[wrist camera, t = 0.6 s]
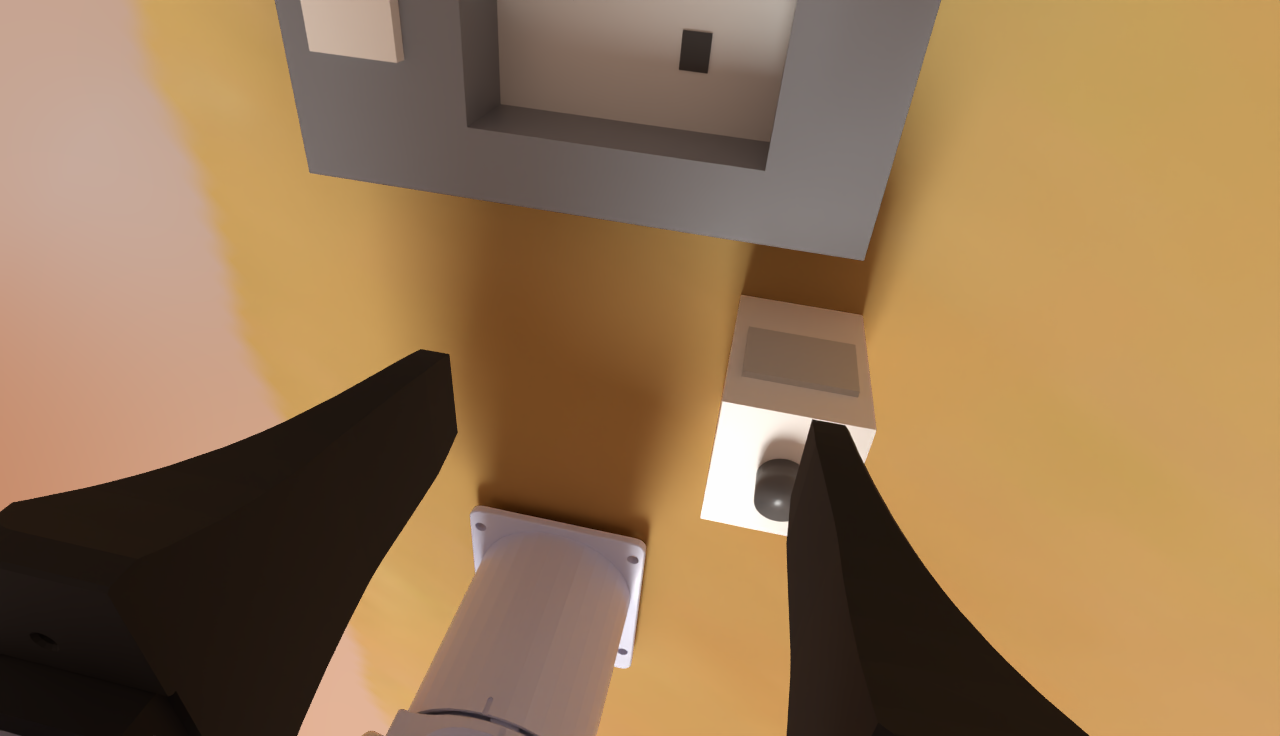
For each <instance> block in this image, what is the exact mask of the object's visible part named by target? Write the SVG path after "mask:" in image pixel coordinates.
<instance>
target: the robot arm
mask: <svg viewBox="0 0 1280 736" xmlns="http://www.w3.org/2000/svg"><path fill="white" fill-rule="evenodd" d="M457 433H458V432H457V423H456V413H455V404H454V394H453V385H452V375H451V366H450V356H449V354H445V353H439V352H434V351H428V350H422V349H420V350H418V351H416V352H414V353H412V354H410V355H408V356H406V357H405V358H403V359H401V360H399V361H397V362H396V363H394V364H392V365H390V366H388V367H387V368H385V369H383V370H381V371H380V372H378V373H376V374H374V375H373V376H371V377H369V378H367V379H365V380H364V381H362V382H360V383H358V384H356V385H355V386H353V387H351V388H349V389H347V390H346V391H344V392H342V393H340V394H338V395H337V396H335V397H333V398H331V399H329V400H327V401H325V402H323V403H321V404H319V405H317V406H315V407H313V408H311V409H309V410H307V411H305V412H303V413H301V414H299V415H297V416H295V417H293V418H291V419H289V420H287V421H285V422H283V423H281V424H279V425H276V426H274V427H272V428H270V429H267V430H265V431H263V432H261V433H258V434H256V435H253V436H251V437H248V438H246V439H243V440H241V441H238V442H236V443H233V444H231V445H228V446H226V447H223V448H220V449H217V450H214V451H211V452H208V453H206V454H202V455H199V456H197V457H194V458H191V459H188V460H185V461H182V462H179V463H176V464H173V465H170V466H167V467H163V468H160V469H156V470H153V471H149V472H146V473H142V474H139V475H135V476H131V477H128V478H124V479H120V480H117V481H112V482H109V483H104V484H100V485H96V486H92V487H87V488H83V489H78V490H73V491H68V492H64V493H58V494H53V495H49V496H44V497H39V498H34V499H29V500H24V501H18V502H13V503H11V504H10V505H9V506H7V507H6V508H5V509H3V510H2V511H1V512H0V736H297V735H298V732H299V730H300V727H301V725H302V722H303V720H304V718H305V715H306V713H307V711H308V709H309V707H310V704H311V702H312V700H313V698H314V695H315V693H316V690H317V688H318V686H319V684H320V682H321V680H322V677H323V675H324V673H325V671H326V668H327V666H328V664H329V662H330V660H331V658H332V656H333V654H334V651H335V650H336V647H337V645H338V643H339V641H340V639H341V637H342V635H343V633H344V631H345V629H346V627H347V625H348V622H349V621H350V619H351V617H352V615H353V613H354V611H355V609H356V607H357V605H358V603H359V601H360V599H361V597H362V595H363V593H364V591H365V589H366V587H367V585H368V584H369V582H370V580H371V578H372V576H373V575H374V573H375V571H376V570H377V568H378V566H379V565H380V563H381V561H382V560H383V558H384V557H385V555H386V554H387V552H388V551H389V549H390V548H391V546H392V545H393V543H394V542H395V540H396V538H397V537H398V535H399V534H400V532H401V531H402V529H403V528H404V526H405V525H406V523H407V522H408V520H409V519H410V517H411V516H412V514H413V513H414V511H415V510H416V508H417V507H418V505H419V503H420V502H421V500H422V499H423V497H424V496H425V494H426V493H427V491H428V490H429V488H430V486H431V485H432V483H433V482H434V480H435V478H436V477H437V475H438V474H439V472H440V469H441V467H442V465H443V463H444V461H445V459H446V457H447V455H448V453H449V451H450V448H451V446H452V444H453V442H454V439H455V437H456V435H457ZM470 522H471V533H472V544H473V555H474V566H475V576H474V578H473V580H472V582H471V584H470V586H469V588H468V590H467V592H466V594H465V596H464V598H463V600H462V602H461V604H460V606H459V608H458V610H457V612H456V614H455V616H454V618H453V620H452V622H451V624H450V627H449V629H448V631H447V633H446V635H445V637H444V639H443V641H442V643H441V645H440V647H439V649H438V651H437V653H436V655H435V657H434V659H433V661H432V663H431V665H430V667H429V669H428V671H427V673H426V675H425V677H424V680H423V682H422V684H421V686H420V688H419V690H418V692H417V694H416V696H415V698H414V700H413V702H412V704H411V706H410V708H409V710H408V711H407V710H404V709H400V710H399V711H398V713H397V715H396V717H395V719H394V720H393V722H392V724H391V726H390V728H389V730H388V732H387V734H386V736H596V735H597V731H598V727H599V723H600V719H601V715H602V711H603V707H604V703H605V699H606V696H607V692H608V688H609V684H610V680H611V676H612V672H613V668H614V667H618V668H628V667H630V665H631V662H632V657H633V649H634V642H635V634H636V626H637V618H638V610H639V603H640V595H641V587H642V579H643V571H644V564H645V556H646V545H645V543H644V542H643V541H641V540H639V539H637V538H632V537H627V536H623V535H618V534H613V533H609V532H604V531H599V530H595V529H590V528H585V527H580V526H576V525H571V524H566V523H562V522H557V521H552V520H548V519H543V518H538V517H534V516H529V515H524V514H519V513H515V512H510V511H505V510H501V509H496V508H491V507H487V506H480V505H479V506H475V507H474V508H473V510H472V512H471V513H470ZM634 556H635V557H634ZM787 573H788V599H789V624H790V649H791V670H790V691H789V707H788V723H787V736H1089V735H1088V734H1087V733H1086V732H1084V731H1083V730H1082V729H1081V728H1080V727H1079V726H1077V725H1076V724H1075V723H1074V722H1073V721H1072V720H1070V719H1069V718H1068V717H1067V716H1066V715H1065V714H1063V713H1062V712H1061V711H1060V710H1059V709H1058V708H1056V707H1055V706H1054V705H1053V704H1052V703H1051V702H1049V701H1048V700H1047V699H1046V698H1045V697H1044V696H1043V695H1041V694H1040V693H1039V692H1038V691H1037V690H1036V689H1035V688H1034V687H1033V686H1032V685H1031V684H1030V683H1029V682H1028V681H1027V680H1026V679H1025V678H1024V677H1023V676H1021V675H1020V674H1019V673H1018V672H1017V671H1016V670H1015V669H1014V668H1013V667H1012V666H1011V665H1010V664H1009V663H1008V662H1007V661H1006V660H1005V659H1004V658H1003V657H1002V656H1001V655H1000V654H999V653H998V652H997V651H996V650H995V649H994V648H993V647H992V646H991V645H990V644H989V642H988V641H987V640H986V639H985V638H984V637H983V636H982V635H981V634H980V633H979V631H978V630H977V629H976V628H975V627H974V626H973V625H972V624H971V623H970V622H969V620H968V619H967V618H966V617H965V616H964V615H963V614H962V613H961V612H960V610H959V609H958V608H957V607H956V606H955V605H954V603H953V602H952V601H951V600H950V598H949V597H948V596H947V595H946V594H945V592H944V591H943V590H942V588H941V587H940V586H939V584H938V583H937V582H936V580H935V579H934V578H933V577H932V575H931V574H930V573H929V571H928V570H927V568H926V567H925V566H924V564H923V563H922V561H921V560H920V558H919V557H918V556H917V554H916V553H915V551H914V550H913V548H912V547H911V545H910V544H909V542H908V540H907V539H906V537H905V536H904V534H903V533H902V531H901V530H900V528H899V526H898V525H897V523H896V521H895V520H894V518H893V516H892V515H891V513H890V511H889V509H888V508H887V506H886V504H885V502H884V500H883V499H882V497H881V495H880V493H879V492H878V490H877V488H876V486H875V484H874V482H873V480H872V478H871V476H870V474H869V472H868V470H867V468H866V466H865V464H864V462H863V460H862V458H861V456H860V454H859V452H858V450H857V447H856V445H855V443H854V441H853V438H852V436H851V434H850V431H849V430H848V428H847V427H846V426H845V425H842V424H836V423H830V422H825V421H819V420H814V419H812V421H811V425H810V429H809V432H808V436H807V439H806V443H805V447H804V450H803V454H802V457H801V461H800V465H799V468H798V472H797V475H796V479H795V483H794V486H793V490H792V493H791V497H790V509H789V520H788V532H787ZM362 736H383V735H381V734H379V733H377V732H375V731H368V732H366V733H365V734H363V735H362Z"/></svg>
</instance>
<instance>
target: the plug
mask: <svg viewBox="0 0 1280 736" xmlns="http://www.w3.org/2000/svg"><path fill="white" fill-rule="evenodd" d="M812 419H814V420H819V421H825V422H830V423H836V424H842V425H845V426H846V427H847V428H848V430H849V431H850V434H851V436H852V438H853V441H854V443H855V445H856V447H857V450H858V452H859V454H860V456H861V458H862V460H863V462H864V463H865V460H866V458H867V455H868V452H869V449H870V447H871V444H872V441H873V438H874V436H875V433H876V422H875V414H874V405H873V397H872V389H871V380H870V372H869V364H868V356H867V347H866V339H865V331H864V322H863V315H859V314H853V313H847V312H841V311H835V310H829V309H823V308H818V307H812V306H806V305H800V304H794V303H788V302H782V301H776V300H770V299H764V298H758V297H752V296H746V295H741V297H740V303H739V308H738V313H737V319H736V324H735V329H734V335H733V340H732V345H731V351H730V356H729V361H728V367H727V372H726V377H725V383H724V388H723V393H722V399H721V404H720V410H719V415H718V421H717V427H716V432H715V438H714V444H713V449H712V455H711V461H710V466H709V472H708V478H707V483H706V489H705V495H704V500H703V506H702V512H701V517H700V518H702V519H707V520H712V521H716V522H721V523H726V524H731V525H736V526H741V527H745V528H750V529H755V530H760V531H765V532H769V533H774V534H779V535H784V536H787V532H788V520H789V509H790V497H791V493H792V490H793V486H794V483H795V479H796V475H797V472H798V468H799V465H800V461H801V457H802V454H803V450H804V447H805V443H806V439H807V436H808V432H809V429H810V425H811V421H812Z"/></svg>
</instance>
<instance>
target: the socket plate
mask: <svg viewBox="0 0 1280 736" xmlns="http://www.w3.org/2000/svg"><path fill="white" fill-rule="evenodd" d="M940 2H941V0H275V4H276V9H277V14H278V19H279V24H280V29H281V33H282V38H283V43H284V48H285V53H286V58H287V63H288V68H289V73H290V78H291V83H292V88H293V93H294V98H295V103H296V108H297V113H298V118H299V123H300V128H301V132H302V137H303V142H304V147H305V152H306V157H307V162H308V167H309V172H310V173H314V174H320V175H326V176H333V177H339V178H345V179H352V180H358V181H364V182H370V183H377V184H383V185H389V186H396V187H402V188H408V189H414V190H421V191H427V192H433V193H440V194H446V195H452V196H459V197H465V198H471V199H477V200H484V201H490V202H496V203H503V204H509V205H515V206H522V207H528V208H534V209H540V210H547V211H553V212H559V213H566V214H572V215H578V216H584V217H591V218H597V219H603V220H610V221H616V222H622V223H629V224H635V225H641V226H647V227H654V228H660V229H666V230H673V231H679V232H685V233H692V234H698V235H704V236H710V237H717V238H723V239H729V240H736V241H742V242H748V243H755V244H761V245H767V246H773V247H780V248H786V249H792V250H799V251H805V252H811V253H817V254H824V255H830V256H836V257H843V258H849V259H855V260H862V261H864V259H865V255H866V252H867V249H868V245H869V242H870V239H871V235H872V232H873V228H874V225H875V222H876V218H877V215H878V212H879V208H880V205H881V201H882V198H883V195H884V191H885V188H886V185H887V181H888V178H889V174H890V171H891V168H892V164H893V161H894V157H895V154H896V151H897V147H898V144H899V141H900V137H901V134H902V130H903V127H904V124H905V120H906V117H907V114H908V110H909V107H910V103H911V100H912V97H913V93H914V90H915V87H916V83H917V80H918V76H919V73H920V70H921V66H922V63H923V60H924V56H925V53H926V49H927V46H928V43H929V39H930V36H931V33H932V29H933V26H934V22H935V19H936V16H937V12H938V9H939V6H940Z"/></svg>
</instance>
